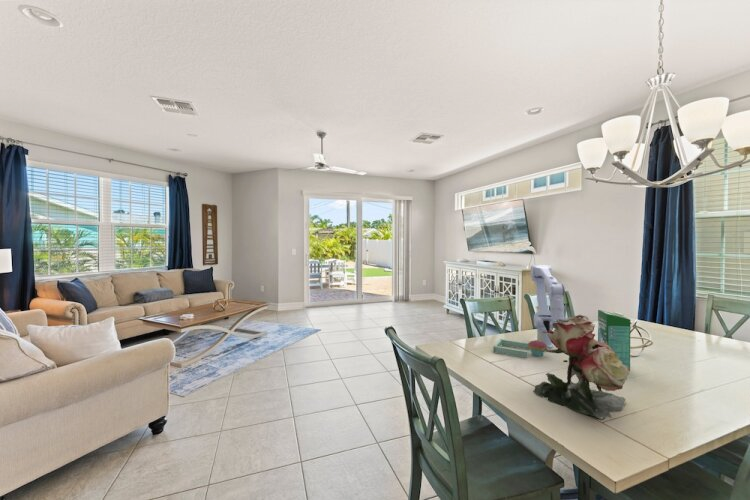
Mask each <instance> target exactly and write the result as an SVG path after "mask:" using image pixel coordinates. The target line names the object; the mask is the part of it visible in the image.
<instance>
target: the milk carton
mask: <svg viewBox="0 0 750 500" xmlns="http://www.w3.org/2000/svg"><path fill="white" fill-rule="evenodd" d="M624 315H625V314H623V313H622V312H617V311H613V312H610V311H605V310H601V309H598V311H597V341H599V342H603V343H606V344H608V346H609V347H610V348H611V349H612V350H613V351H614V352H615V353H616V354H617V356H619V360H620V361H622V364H623V365H625V366H627V367H628V368H630V370H629V372H631V319H630V318H627V317H625V316H624Z"/></svg>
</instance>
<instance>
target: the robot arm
mask: <svg viewBox="0 0 750 500" xmlns="http://www.w3.org/2000/svg"><path fill="white" fill-rule="evenodd" d="M529 270H530V271H529V272H530V278H531V281H533V282H534V284H535V291H536V299H537V308H538V311H536V312H535V313H534V314H533V324H534V325H533V326H534V327H535V328H536V331H537V332H536V337H537V338H536V340H538V341H539V339H540V333H541V331H542V336H541V341H542V342H544V343H545V344H546V345H547V348H549V349H552V348H553V346H554V344H552V342H551V341H550V339H549V336H548V335H547V334H545V333H543V331H544V332H547V333H548V332H549V330H551V331H554V329H555V328H554V327H553V325H552V324H553V323H562V322H561V321H559V319H561V320H563V321H566V319H567V318H568V317H565V311H564V296H565V293H566V292H565V291H566V290H565V288H566V287H565V285H564V284H563V283H560V282H559V281H558V280H557V278H556V277H555V276H553V275H552V273H553V269H552V265H550V264H547V265H546V264H538V265H537V264H532V265H531V266H530V269H529ZM546 289H547V291H546ZM547 294H548V297H547ZM547 298H548V299H549V306H550V307H548V300H547ZM549 308H550V309H549Z"/></svg>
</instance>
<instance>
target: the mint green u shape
mask: <svg viewBox="0 0 750 500" xmlns="http://www.w3.org/2000/svg"><path fill="white" fill-rule="evenodd" d="M528 343H529V342H523V341H516V340H509V339H503V338H500V339H499V340H498V341H497V342H496V343H495V344H494V345H493V353H495V352H497V353H496V354H500V353H502V354H501V355H506V354H507V355H508V356H511V357H513V356H514V357H518V358H525V359H528V358H529V357H528V351H527V350H529V349H530V348H529V347H528ZM501 345H502V346H501ZM504 345H506V347H504ZM500 346H501V347H500ZM510 346H513V348H508V347H510ZM516 347H519V348H518V349H515V348H516ZM523 348H525V349H524V350H520V349H523ZM530 351H531V349H530ZM507 355H506V356H507Z"/></svg>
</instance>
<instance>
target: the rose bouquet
mask: <svg viewBox="0 0 750 500" xmlns="http://www.w3.org/2000/svg"><path fill="white" fill-rule="evenodd" d="M566 318H567V319H566V321H563V320H561V319H559V320H558V321H561V322H556V323H553V324H552V325H553V327H554V328H553V330H552V331H551V330H549V332H548V333H547V332H544V331H543V333H545V334H547V335H548V336H549V339H550V341H551V342H552V344H553V346H555V348H556V349H552V348H547V349H545V350H541V352H546V353H551V354H552V353H553V354H564V355H567V356H568V360H567V359H564V360H563V361H562V362H563V363H568V366H567V372H566V374H567V376H566V379H567V381H566V382H565V381H564V380H563V379H562V378H559V377H557V376H556V375H555V374H553V373H550V372H547V373H545V376H546V377H547V381H548V382H547V381H542V382H541V383H539V384H535V386H534V390H533V391H532V392H533V393H534V394H535V395H536V396H537V397H539V398H542V399H544V398H546V399H547V401H549V402H550V403H554V404H557V405H559V406H561V407H566V408H570V409H572V410H573V411H576V412H578V413H580V414H583V415H585V416H592V417H595V418H597V419H599V420H602V421H603V420H605V419H606V418H608V417H609V418H610V419H613V420H614V418H612V416H611V412H613V411H614V412H621V411H622V410H623V408H624V407H625V403H626V399H627V398H625V397H624V396H618V395H615V394H614V393H610V392H612V391H613V392H615V391H617V390H622V389H623V387H624V385H625V383H626V381H627V380H628V376H629V374H630V373H629V372H630V371H631V367H630V368H628V367H627V366H625V365H623V364H622V361H620V360H619V356H617V354H616V353H615V352H614V351H613V350H612V349H611V348H610V347H609V346H608V344H606V343H603V342H599V341H598V339H595V337H596V334H595V333H594V330H595V327H596V325H595V324H594V322H593V321H592V320H590V319H589V317H588V316H585V315H582V314H578V315H575V316H571V317H566ZM629 370H630V371H629ZM574 376H575V377H576V378H577V380H578V381H577V382H573V381H572V378H573V377H574ZM590 383H593V384H594V385H596V388H597V389H592V388H591V389H590ZM603 390H604V391H605V392H604V391H603ZM606 391H607V392H606ZM610 411H611V412H610Z"/></svg>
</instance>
